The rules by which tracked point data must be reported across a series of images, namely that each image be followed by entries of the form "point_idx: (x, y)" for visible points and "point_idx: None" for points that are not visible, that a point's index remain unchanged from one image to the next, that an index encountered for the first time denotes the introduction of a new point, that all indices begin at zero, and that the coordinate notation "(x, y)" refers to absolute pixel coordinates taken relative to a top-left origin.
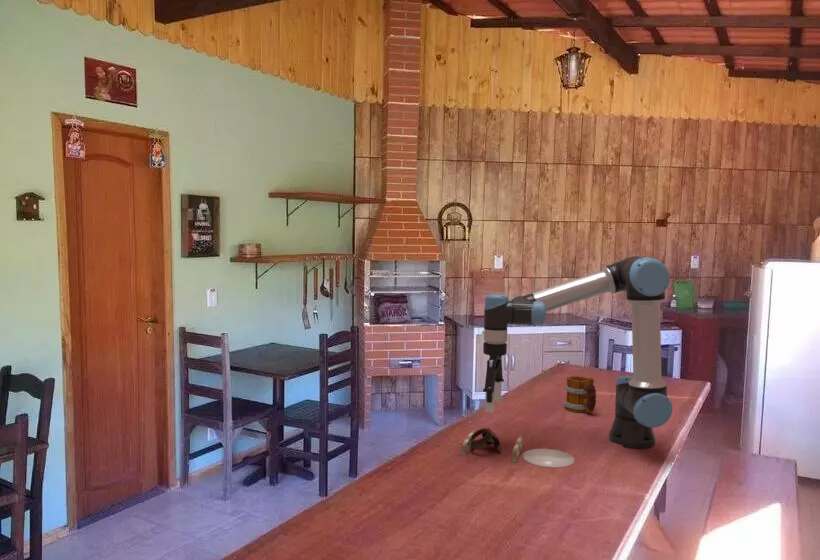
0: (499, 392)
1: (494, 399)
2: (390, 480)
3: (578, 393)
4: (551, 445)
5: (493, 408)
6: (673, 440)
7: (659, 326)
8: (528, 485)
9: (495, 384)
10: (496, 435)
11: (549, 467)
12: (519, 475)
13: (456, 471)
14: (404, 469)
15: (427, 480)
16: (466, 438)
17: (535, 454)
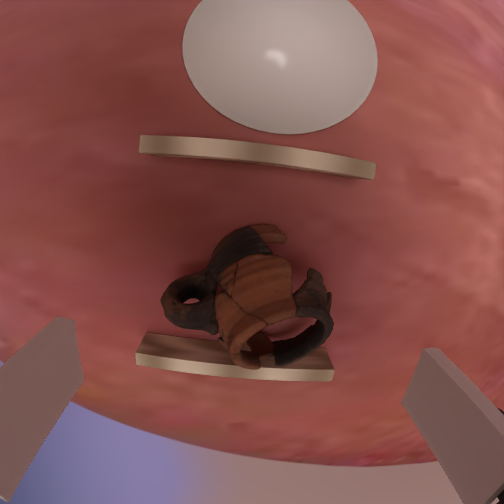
0: (30, 378)
1: (74, 375)
2: None
3: None
4: (128, 39)
5: (453, 365)
6: None
7: None
8: (499, 147)
9: (6, 469)
10: (254, 265)
11: (376, 53)
12: (456, 162)
13: (438, 343)
14: (414, 437)
15: None
16: (249, 377)
17: (262, 84)
